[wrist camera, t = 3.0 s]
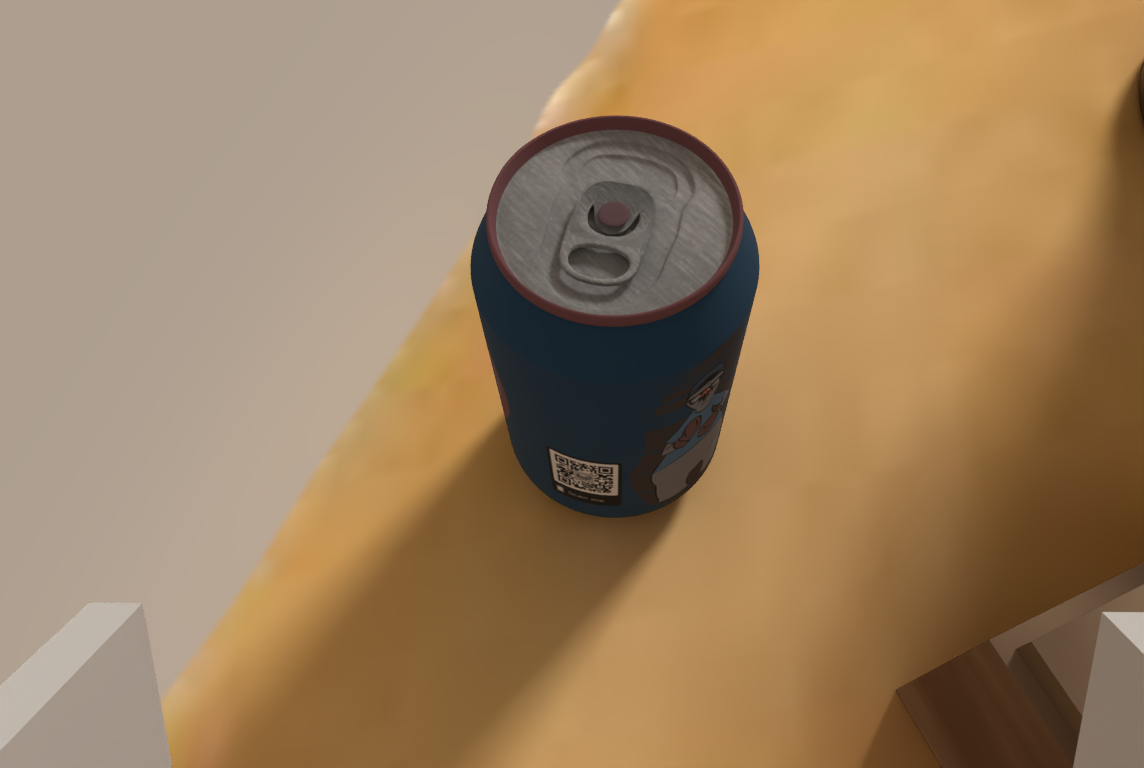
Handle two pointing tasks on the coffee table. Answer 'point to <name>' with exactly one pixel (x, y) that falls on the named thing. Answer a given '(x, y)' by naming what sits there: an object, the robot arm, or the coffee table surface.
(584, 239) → the soda can
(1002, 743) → the block
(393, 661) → the coffee table surface
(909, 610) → the coffee table surface
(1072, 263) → the coffee table surface
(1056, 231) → the coffee table surface
